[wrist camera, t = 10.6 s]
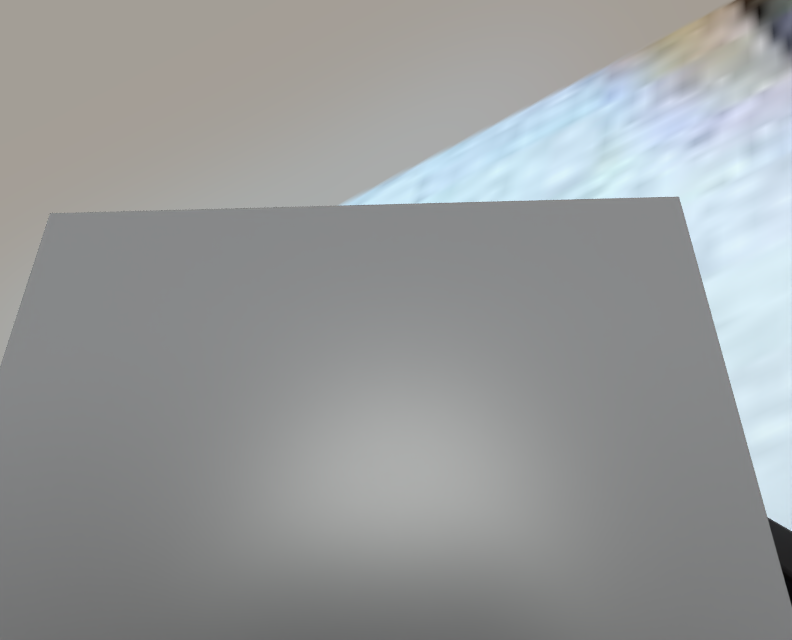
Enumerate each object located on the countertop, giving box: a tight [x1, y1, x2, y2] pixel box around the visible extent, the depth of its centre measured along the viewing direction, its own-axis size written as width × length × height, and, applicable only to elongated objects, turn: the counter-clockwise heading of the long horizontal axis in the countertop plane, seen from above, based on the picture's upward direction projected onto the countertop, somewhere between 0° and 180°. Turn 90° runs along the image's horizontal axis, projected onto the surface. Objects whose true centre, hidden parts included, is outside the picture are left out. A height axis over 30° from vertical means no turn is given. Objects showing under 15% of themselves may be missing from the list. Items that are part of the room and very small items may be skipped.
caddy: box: [0, 197, 792, 640], centre depth 9 cm, size 5×6×13 cm
